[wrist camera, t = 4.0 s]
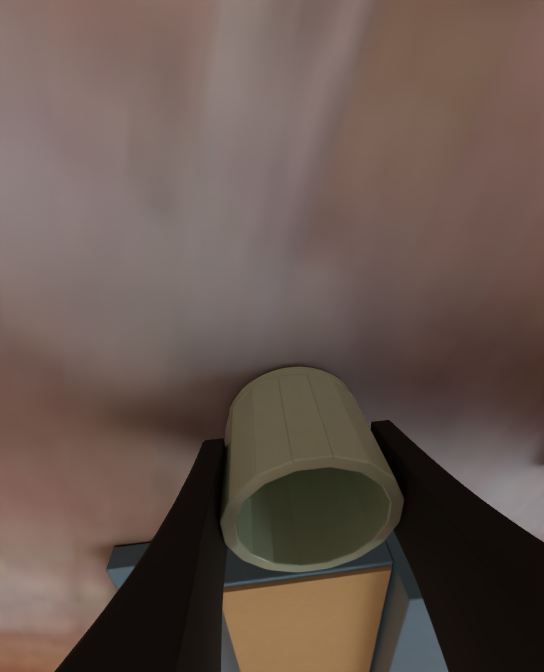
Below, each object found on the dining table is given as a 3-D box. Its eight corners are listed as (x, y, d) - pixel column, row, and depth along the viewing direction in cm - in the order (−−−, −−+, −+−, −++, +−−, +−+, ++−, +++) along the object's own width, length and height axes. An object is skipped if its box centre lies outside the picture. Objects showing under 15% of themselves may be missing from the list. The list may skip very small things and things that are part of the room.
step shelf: (470, 502, 16) (528, 584, 13) (425, 624, 22) (455, 700, 19) (113, 546, 15) (78, 647, 12) (174, 661, 21) (162, 745, 18)
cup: (360, 359, 11) (416, 446, 7) (352, 458, 13) (392, 561, 10) (219, 373, 11) (206, 471, 7) (235, 471, 13) (233, 581, 9)
